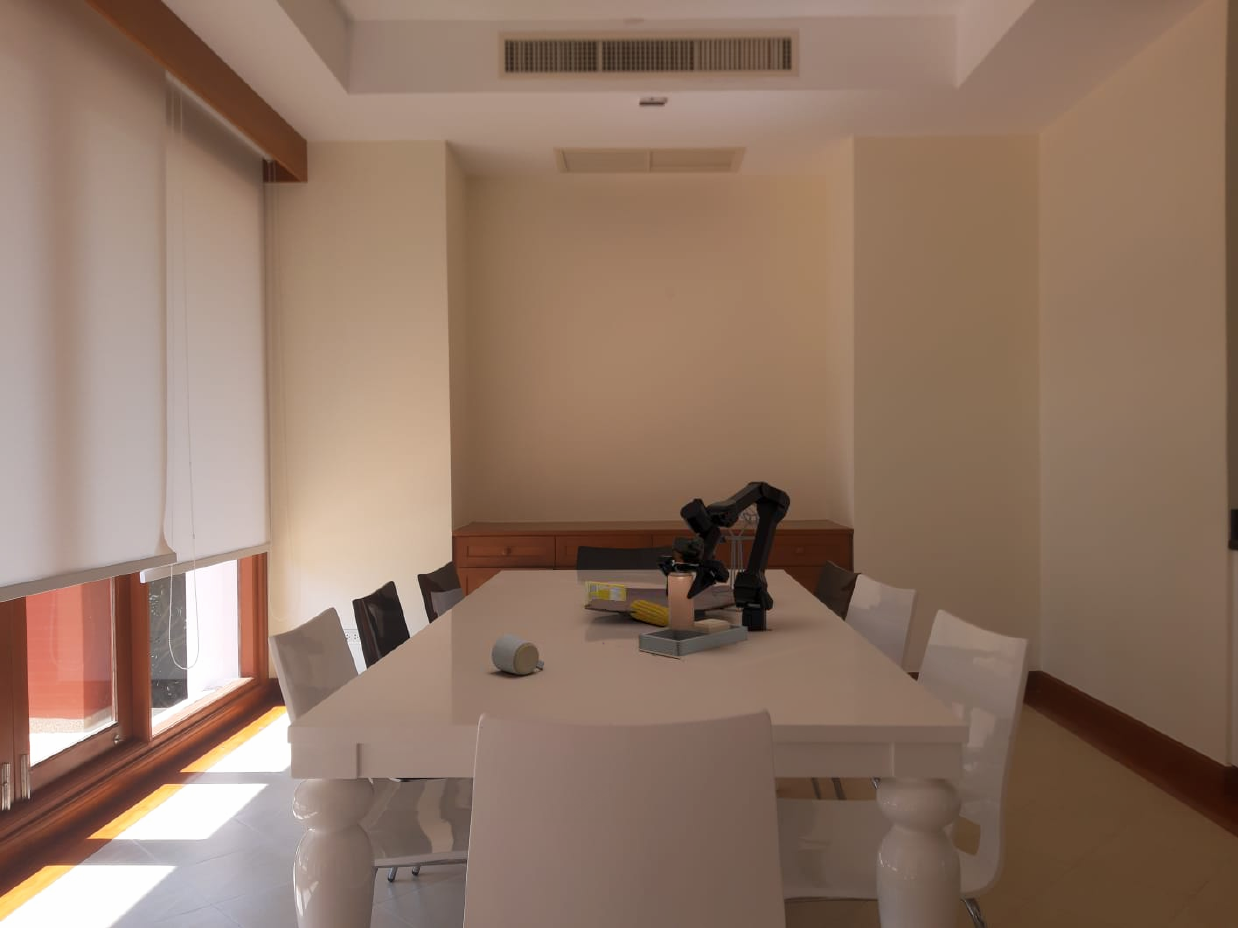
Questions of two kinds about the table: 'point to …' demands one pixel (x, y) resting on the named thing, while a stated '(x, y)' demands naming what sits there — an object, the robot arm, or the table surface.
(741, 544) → the geometric lantern
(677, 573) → the pink beverage can
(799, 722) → the table surface
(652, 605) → the food
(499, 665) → the ceramic mug
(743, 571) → the robot arm
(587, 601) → the candy box
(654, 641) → the tray
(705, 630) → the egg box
